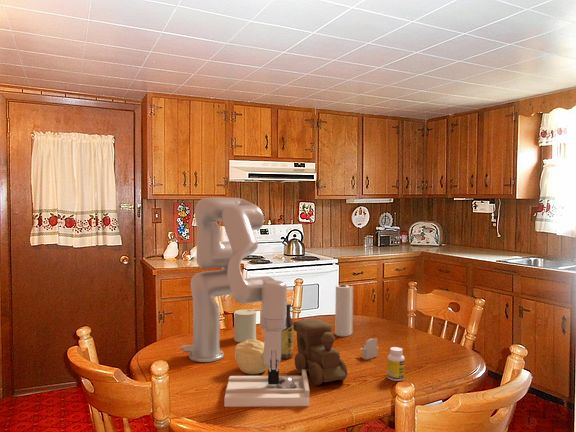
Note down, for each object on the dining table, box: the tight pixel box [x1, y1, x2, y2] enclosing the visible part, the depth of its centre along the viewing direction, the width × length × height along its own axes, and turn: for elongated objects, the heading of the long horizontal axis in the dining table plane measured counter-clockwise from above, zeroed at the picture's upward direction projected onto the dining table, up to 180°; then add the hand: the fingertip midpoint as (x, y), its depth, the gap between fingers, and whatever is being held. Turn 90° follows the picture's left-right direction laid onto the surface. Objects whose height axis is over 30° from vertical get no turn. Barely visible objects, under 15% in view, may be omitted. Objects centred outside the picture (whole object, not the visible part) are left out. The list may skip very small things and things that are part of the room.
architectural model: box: [359, 337, 380, 361], centre depth 172 cm, size 3×7×7 cm, turn 124°
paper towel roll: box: [334, 284, 354, 337], centre depth 198 cm, size 7×6×21 cm
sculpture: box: [234, 339, 269, 375], centre depth 156 cm, size 12×12×11 cm
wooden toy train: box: [292, 318, 348, 387], centre depth 152 cm, size 20×11×17 cm, turn 26°
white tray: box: [223, 370, 311, 408], centre depth 138 cm, size 24×16×4 cm, turn 92°
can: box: [233, 308, 257, 343], centre depth 191 cm, size 9×9×12 cm
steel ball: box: [278, 375, 295, 389], centre depth 139 cm, size 5×5×5 cm
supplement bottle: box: [386, 346, 406, 382], centre depth 151 cm, size 5×5×10 cm
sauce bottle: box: [281, 302, 294, 360], centre depth 171 cm, size 7×6×20 cm
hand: (273, 383), depth 138 cm, fingers closed
